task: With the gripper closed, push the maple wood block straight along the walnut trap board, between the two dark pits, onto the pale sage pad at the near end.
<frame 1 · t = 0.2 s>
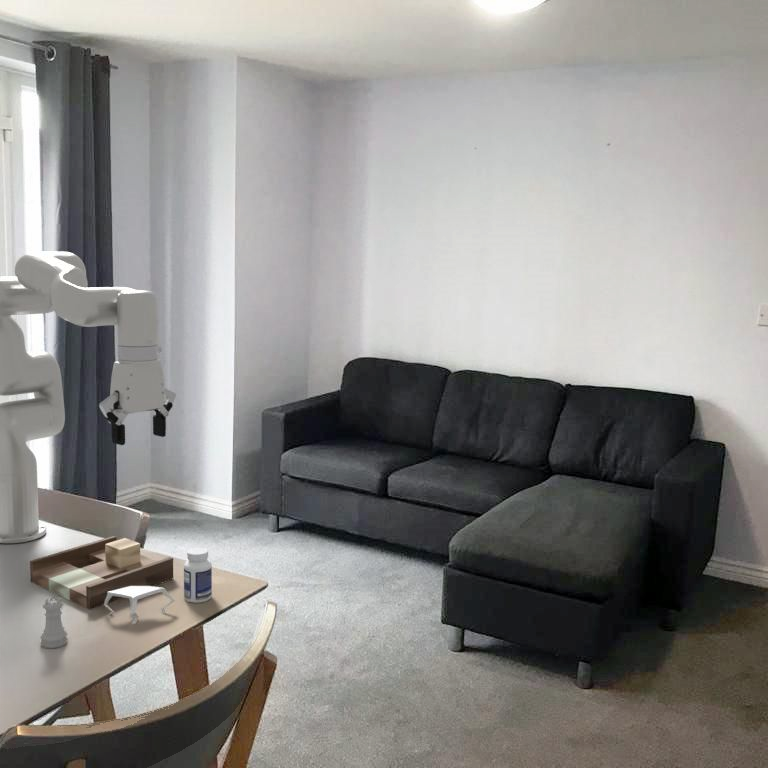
hand: (139, 439, 170), 30 cm above the table, tool pointing down, fingers open, 9 cm apart
trap board: (102, 580, 177), on the table
maple block: (123, 561, 181), point 2 cm above the table, touching trap board
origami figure: (141, 616, 162), on the table
rook chess piece: (54, 644, 150), on the table
pill bottle: (197, 598, 170), on the table
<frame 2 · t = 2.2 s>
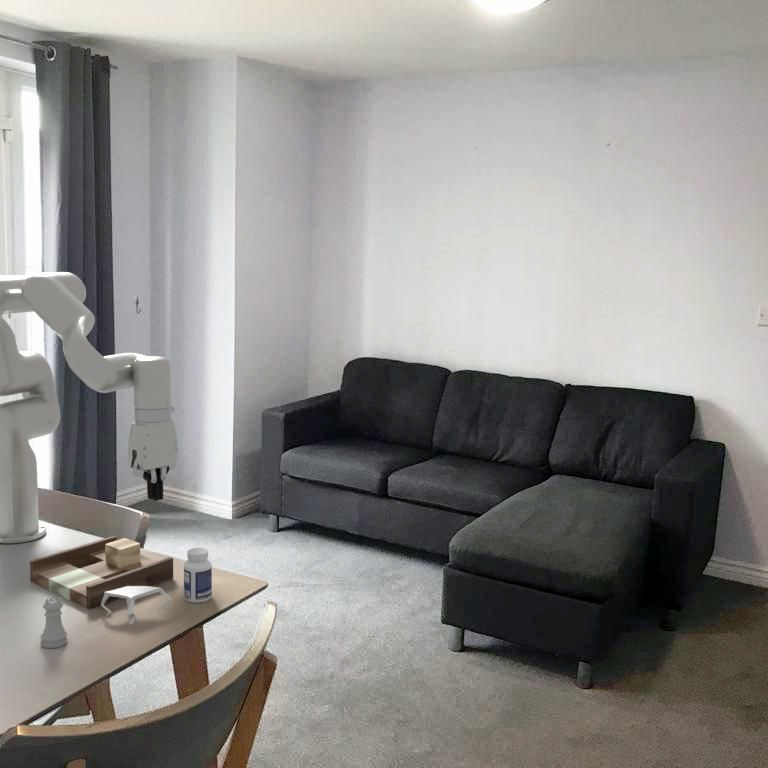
hand: (155, 498, 185), 15 cm above the table, tool pointing down, fingers closed
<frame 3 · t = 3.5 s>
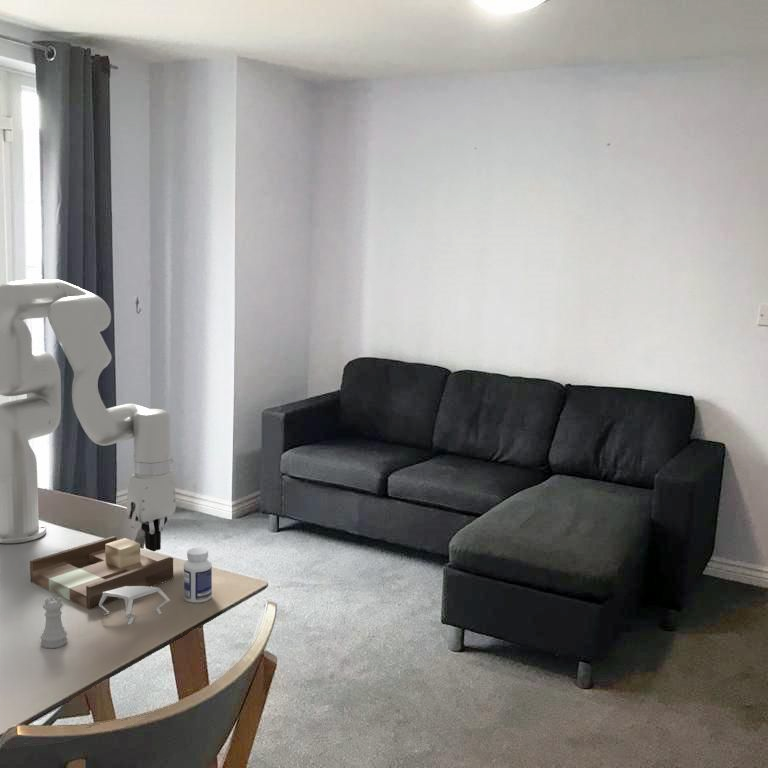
hand: (153, 548, 187), 3 cm above the table, tool pointing down, fingers closed
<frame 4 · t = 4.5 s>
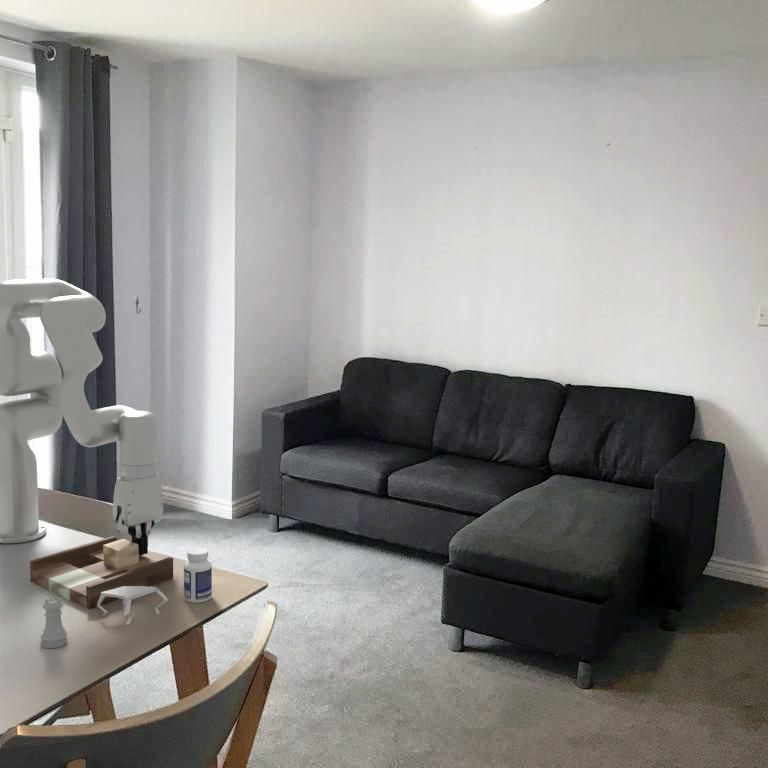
hand: (140, 553, 184), 3 cm above the table, tool pointing down, fingers closed
maple block: (121, 562, 180), point 2 cm above the table, touching gripper, trap board
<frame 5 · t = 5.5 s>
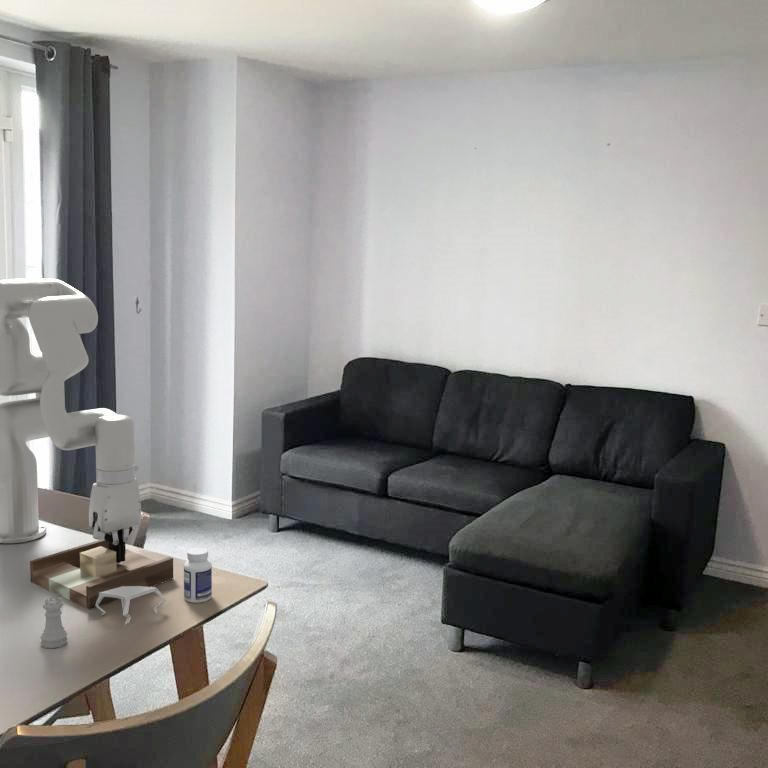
hand: (117, 560, 179), 3 cm above the table, tool pointing down, fingers closed
maple block: (98, 571, 175), point 3 cm above the table, touching gripper
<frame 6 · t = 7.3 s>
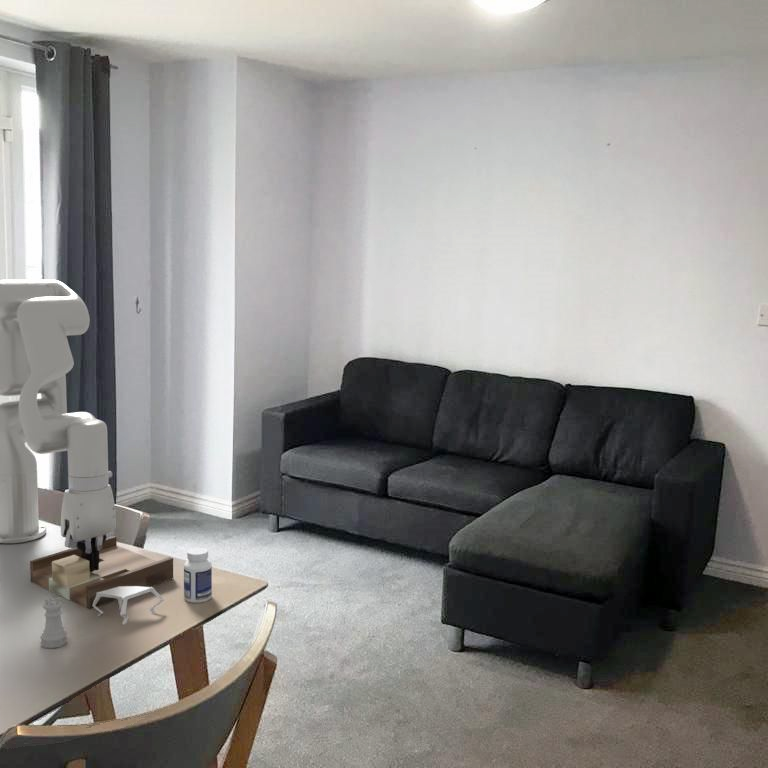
hand: (90, 569, 174), 3 cm above the table, tool pointing down, fingers closed
maple block: (71, 580, 170), point 2 cm above the table, touching gripper, trap board
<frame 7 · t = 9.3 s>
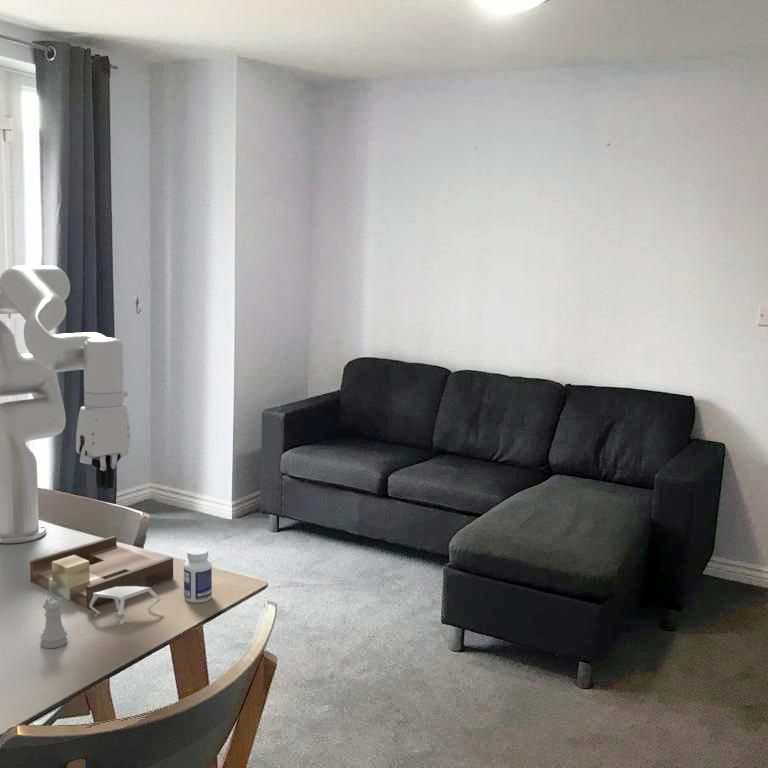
hand: (105, 487, 176), 19 cm above the table, tool pointing down, fingers closed
maple block: (71, 580, 170), point 2 cm above the table, touching trap board
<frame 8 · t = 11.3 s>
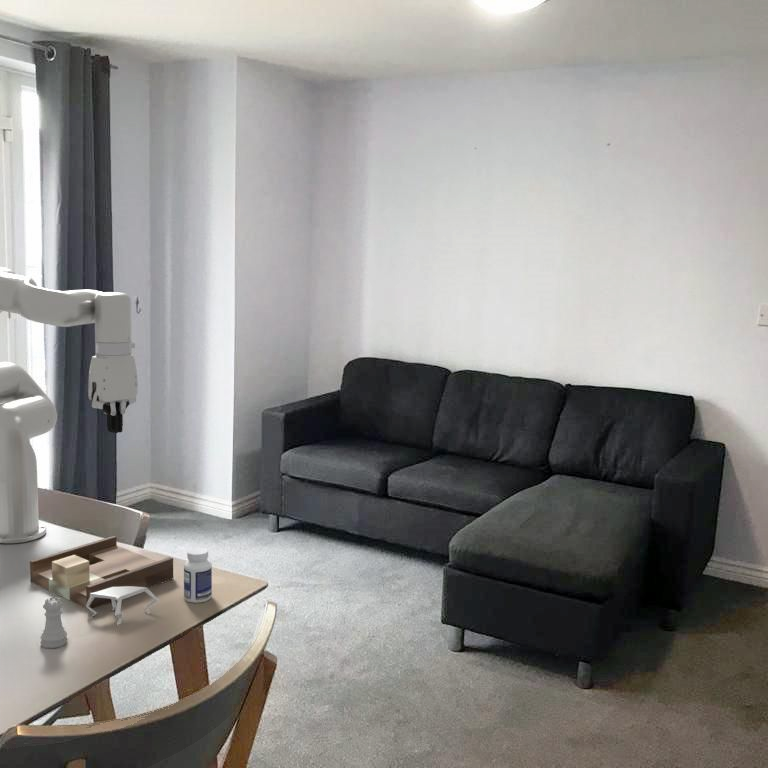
hand: (115, 431, 190), 27 cm above the table, tool pointing down, fingers closed
at the end: maple block 1.3 cm from the target spot on the trap board, point 2.5 cm above the trap board's base; maple block tilted 0° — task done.
